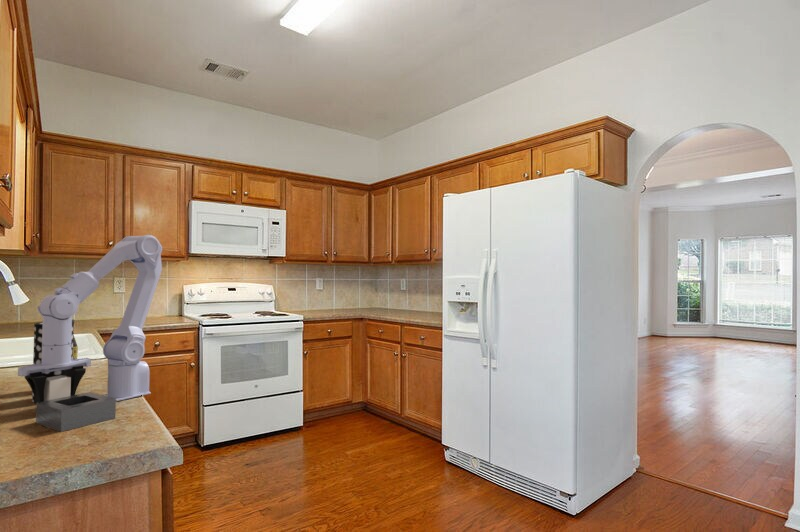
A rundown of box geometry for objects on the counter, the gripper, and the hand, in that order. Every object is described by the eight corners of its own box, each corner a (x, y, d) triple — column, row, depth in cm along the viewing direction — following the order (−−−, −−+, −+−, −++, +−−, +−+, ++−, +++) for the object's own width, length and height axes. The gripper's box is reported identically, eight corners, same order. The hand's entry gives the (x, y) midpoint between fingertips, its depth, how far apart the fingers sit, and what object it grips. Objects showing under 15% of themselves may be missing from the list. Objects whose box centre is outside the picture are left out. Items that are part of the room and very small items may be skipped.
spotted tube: (66, 393, 127) (68, 320, 128) (76, 398, 122) (78, 322, 123) (28, 399, 121) (30, 322, 122) (37, 405, 116) (39, 325, 116)
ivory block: (60, 407, 114) (61, 375, 114) (70, 410, 112) (70, 377, 112) (39, 412, 110) (40, 378, 110) (48, 415, 108) (49, 380, 108)
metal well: (89, 410, 112) (90, 392, 112) (115, 418, 106) (115, 398, 106) (36, 423, 102) (36, 402, 102) (61, 431, 97) (61, 410, 97)
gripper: (81, 339, 119) (79, 392, 119) (12, 346, 107) (10, 405, 107) (95, 341, 116) (94, 396, 116) (26, 349, 103) (25, 410, 103)
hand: (55, 401), depth 111 cm, fingers open, 6 cm apart
